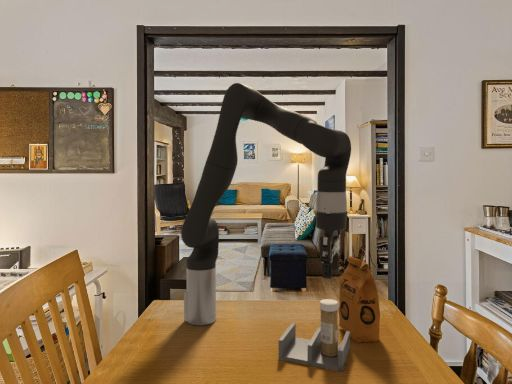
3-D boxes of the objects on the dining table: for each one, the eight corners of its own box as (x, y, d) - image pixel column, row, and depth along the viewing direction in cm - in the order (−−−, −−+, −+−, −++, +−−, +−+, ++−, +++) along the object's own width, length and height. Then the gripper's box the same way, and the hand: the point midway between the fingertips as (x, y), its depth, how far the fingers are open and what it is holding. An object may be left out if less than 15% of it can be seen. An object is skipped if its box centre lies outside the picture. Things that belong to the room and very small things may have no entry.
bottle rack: (278, 359, 96) (278, 340, 96) (292, 340, 107) (292, 322, 107) (342, 371, 90) (342, 351, 90) (349, 349, 101) (350, 331, 101)
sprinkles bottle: (342, 354, 97) (342, 302, 96) (329, 359, 94) (328, 305, 94) (329, 347, 101) (329, 297, 100) (316, 351, 98) (316, 300, 98)
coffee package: (351, 345, 104) (352, 265, 103) (335, 327, 117) (335, 255, 116) (385, 342, 106) (386, 264, 105) (365, 325, 118) (366, 254, 117)
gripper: (322, 206, 104) (321, 265, 104) (309, 211, 90) (308, 279, 91) (350, 207, 101) (349, 268, 102) (341, 213, 88) (340, 282, 88)
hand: (330, 273), depth 96 cm, fingers open, 8 cm apart
